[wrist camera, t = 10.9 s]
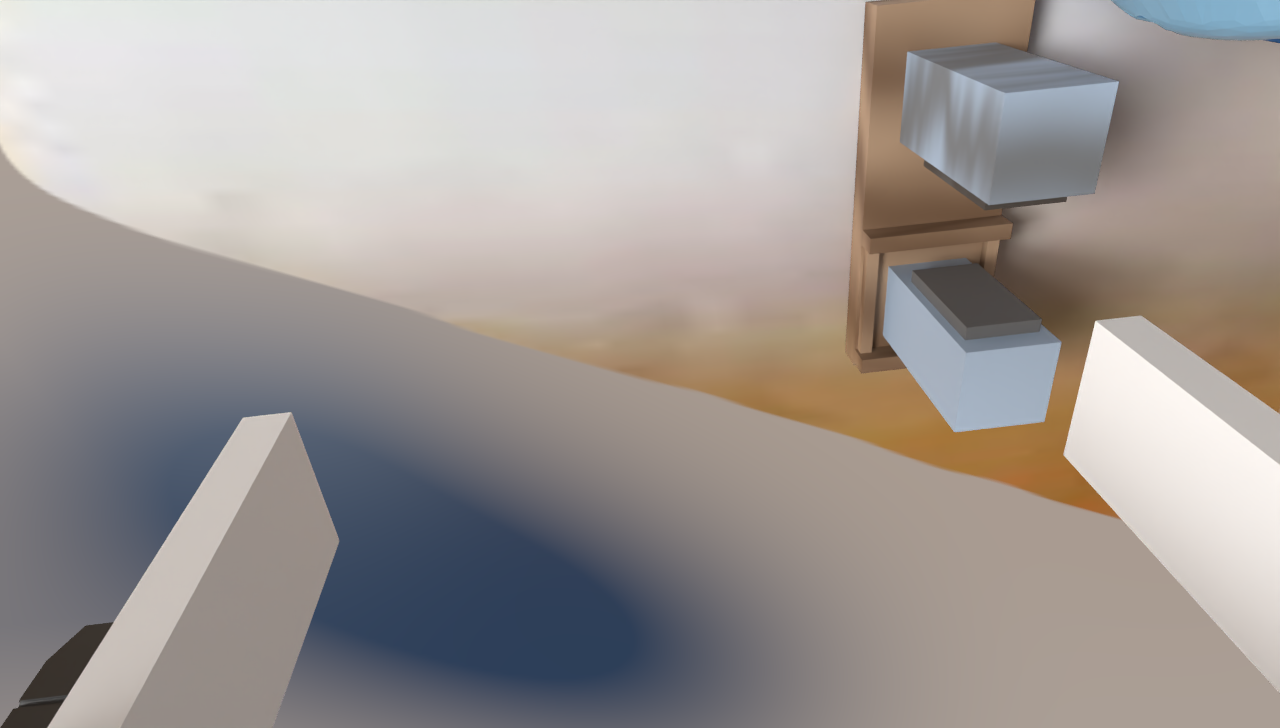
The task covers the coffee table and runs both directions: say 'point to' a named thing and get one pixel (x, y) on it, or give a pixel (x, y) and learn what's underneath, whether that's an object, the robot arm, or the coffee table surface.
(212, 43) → the coffee table surface
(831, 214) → the coffee table surface
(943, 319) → the block
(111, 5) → the coffee table surface
